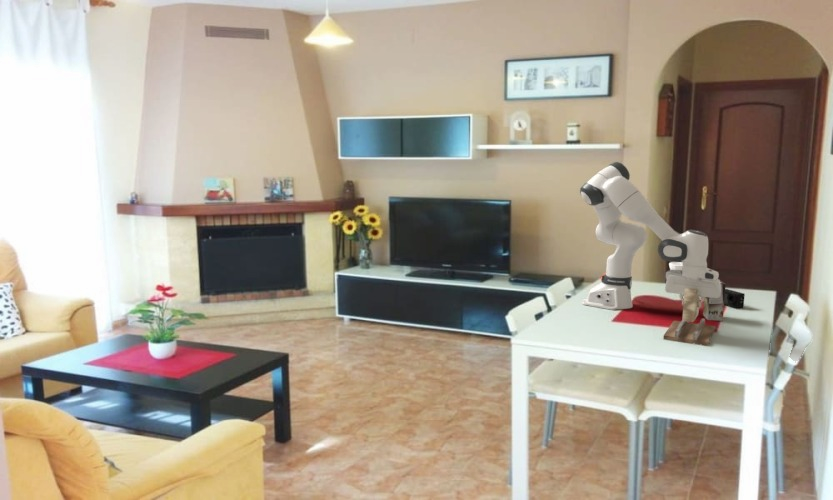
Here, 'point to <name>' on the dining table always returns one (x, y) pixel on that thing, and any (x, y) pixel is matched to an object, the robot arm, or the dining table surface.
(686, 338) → the track base
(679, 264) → the cup
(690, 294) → the door panel
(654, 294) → the dining table surface
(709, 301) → the coffee box
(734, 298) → the digital camera
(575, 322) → the dining table surface
